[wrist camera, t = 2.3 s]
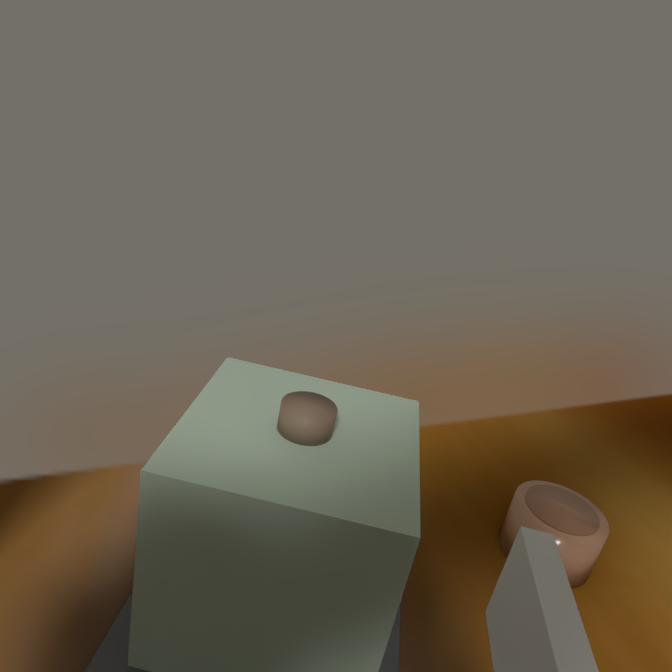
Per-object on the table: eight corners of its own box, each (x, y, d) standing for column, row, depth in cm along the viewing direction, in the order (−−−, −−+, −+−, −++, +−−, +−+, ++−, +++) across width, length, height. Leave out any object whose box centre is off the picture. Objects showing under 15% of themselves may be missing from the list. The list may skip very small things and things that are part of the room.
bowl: (546, 517, 39) (563, 474, 38) (608, 580, 35) (631, 534, 33) (481, 528, 37) (497, 483, 36) (538, 597, 32) (560, 548, 31)
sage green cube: (376, 552, 33) (424, 380, 28) (361, 726, 23) (429, 510, 19) (207, 511, 33) (230, 336, 29) (127, 665, 24) (142, 441, 20)
